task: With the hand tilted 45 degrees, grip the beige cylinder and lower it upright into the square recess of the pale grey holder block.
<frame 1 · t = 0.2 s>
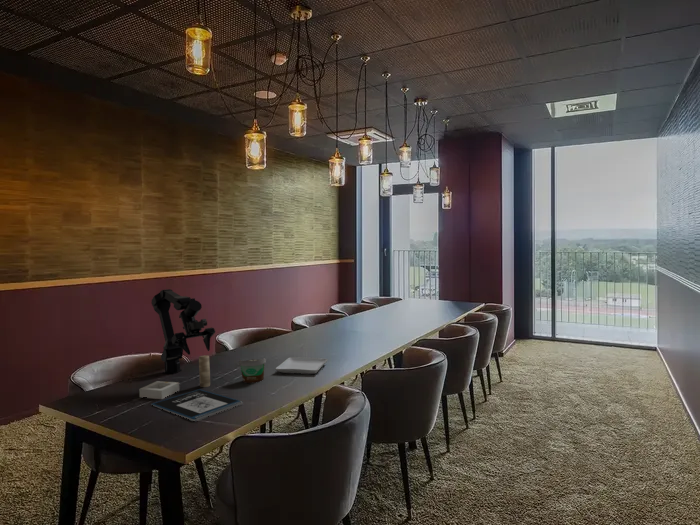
hand: (199, 352, 206), 14 cm above the table, tool tilted 35°, fingers open, 9 cm apart
salad plate: (302, 370, 227), on the table
sketchbook: (197, 406, 180), on the table
beige cylinder: (205, 385, 204), on the table
food container: (253, 382, 208), on the table
holder block: (159, 393, 194), on the table
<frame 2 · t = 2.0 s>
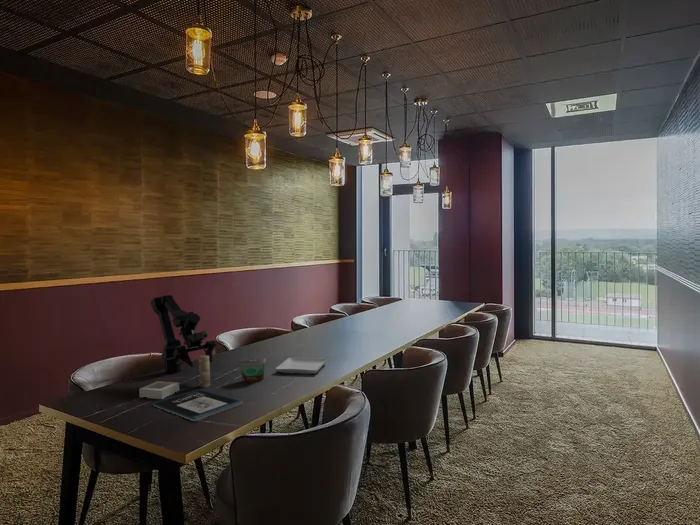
hand: (202, 364, 205), 9 cm above the table, tool tilted 45°, fingers open, 9 cm apart
nothing on the table moved.
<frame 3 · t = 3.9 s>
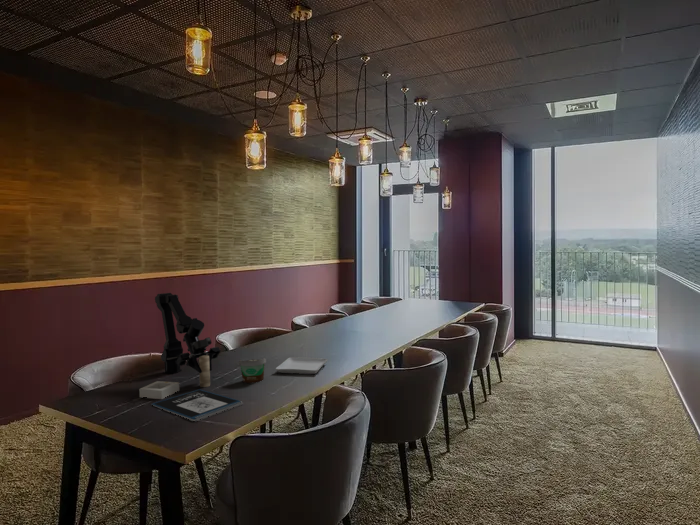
hand: (206, 371, 203), 7 cm above the table, tool tilted 45°, fingers closed on beige cylinder, 4 cm apart
beige cylinder: (205, 385, 204), on the table, touching gripper
everything else where it was.
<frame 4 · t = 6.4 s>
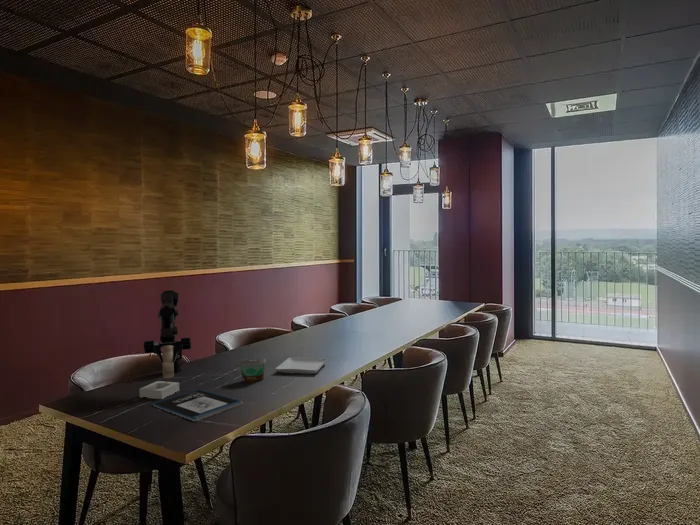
hand: (167, 362, 194), 13 cm above the table, tool tilted 45°, fingers closed on beige cylinder, 4 cm apart
beige cylinder: (168, 376, 195), point 7 cm above the table, touching gripper
everything else where it was.
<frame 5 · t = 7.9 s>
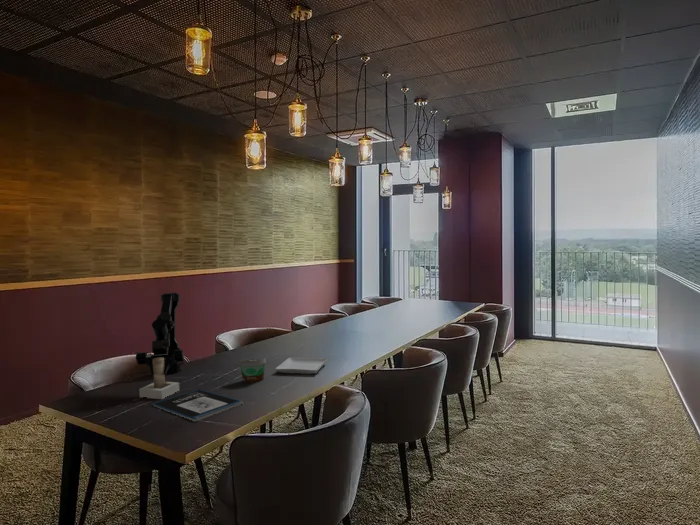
hand: (158, 374, 193), 9 cm above the table, tool tilted 45°, fingers closed on beige cylinder, 4 cm apart
beige cylinder: (159, 389, 194), point 2 cm above the table, touching gripper
everything else where it was.
when the fingers open (8 cm above the table, at t = 8.8 s): beige cylinder drops 1 cm, resting in holder block.
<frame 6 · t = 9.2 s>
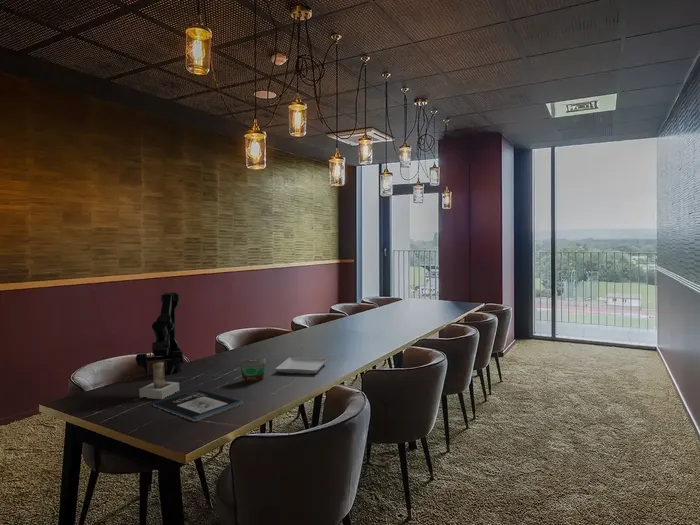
hand: (158, 375, 193), 8 cm above the table, tool tilted 45°, fingers open, 9 cm apart
beige cylinder: (160, 393, 194), resting in holder block
everything else where it was.
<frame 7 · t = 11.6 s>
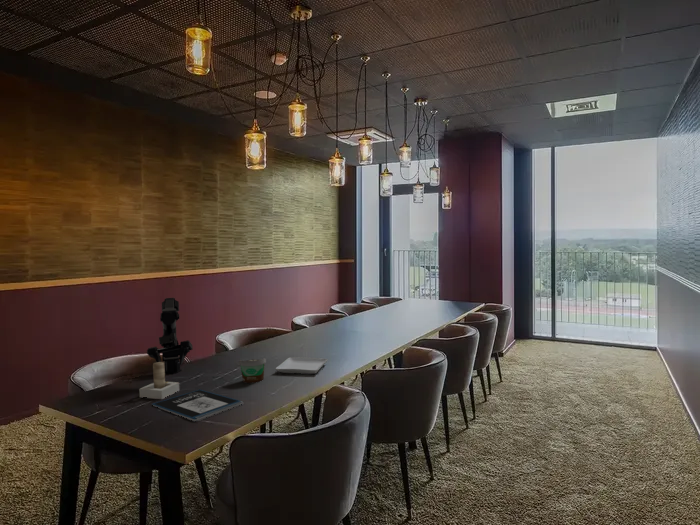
hand: (170, 366, 205), 8 cm above the table, tool tilted 35°, fingers open, 9 cm apart
nothing on the table moved.
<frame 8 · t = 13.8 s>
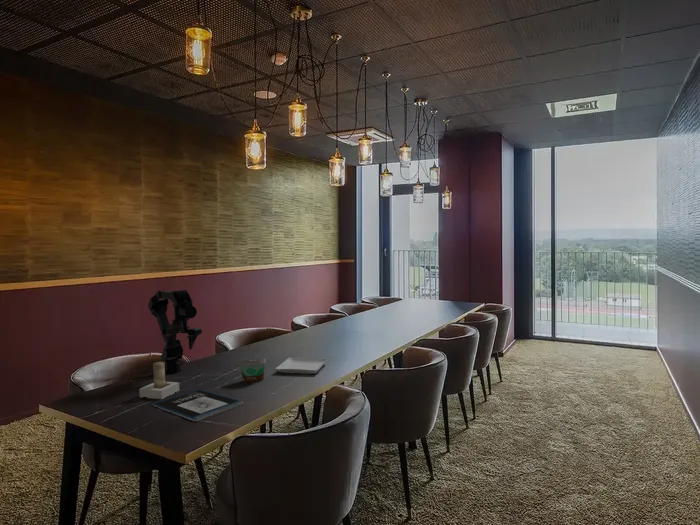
hand: (182, 349, 220), 13 cm above the table, tool pointing down, fingers open, 9 cm apart
nothing on the table moved.
at the end: beige cylinder 0.0 cm off-centre on the holder block, point 0.0 cm above the holder block's base; beige cylinder tilted 1°; the gripper is holding nothing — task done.
